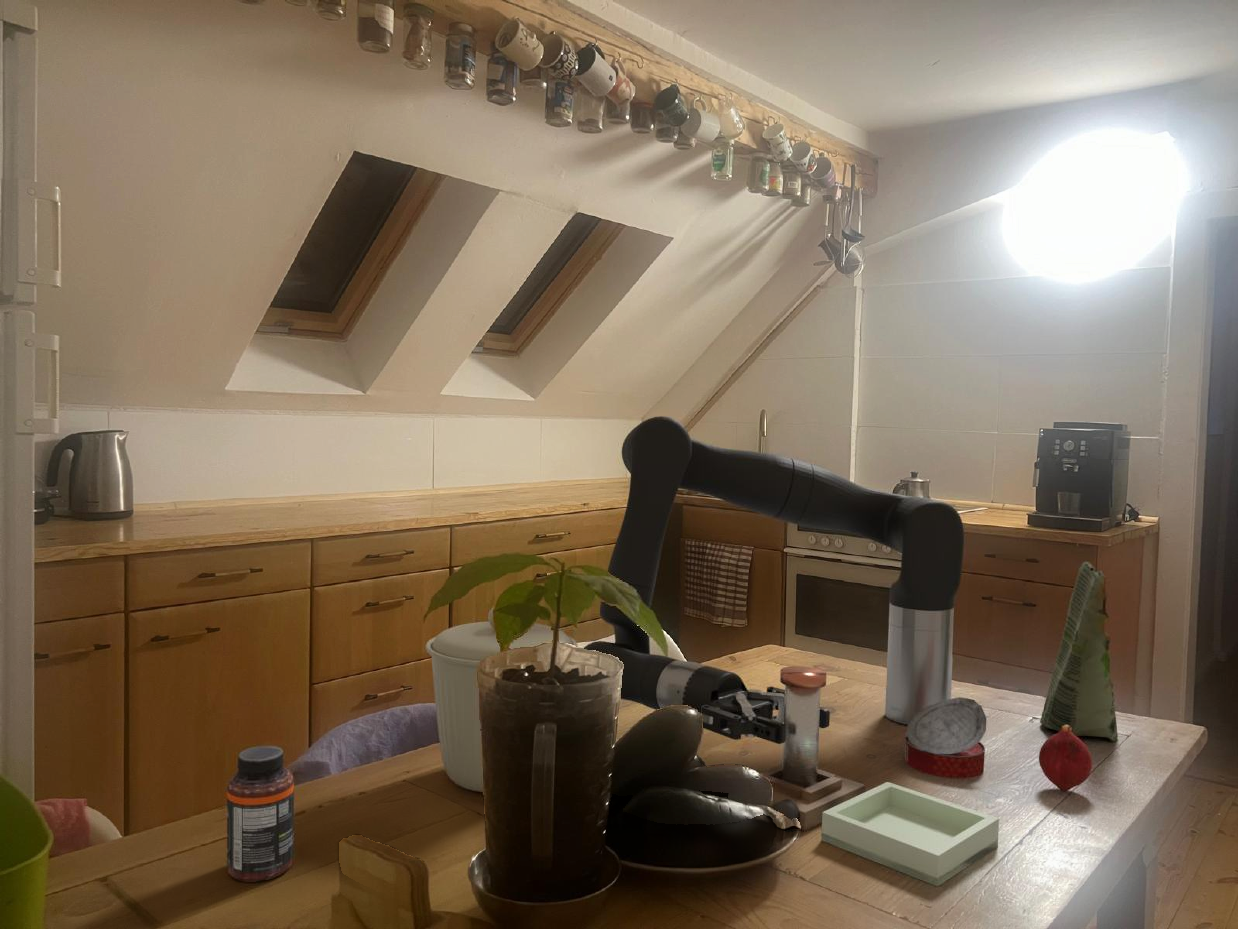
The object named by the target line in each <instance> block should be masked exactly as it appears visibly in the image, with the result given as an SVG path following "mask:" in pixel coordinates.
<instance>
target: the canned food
mask: <svg viewBox="0 0 1238 929" xmlns="http://www.w3.org/2000/svg"><path fill="white" fill-rule="evenodd" d="M986 732H987V716H986V714H985V712H984V709H983V707H982V705H981V704H980V703H978V702H977V701H976V700H975V699H971V698H967V697H954V698H951V699H948V700H942V701H940V702H938V703H936V704H933V705H930V706H928V707H926V708H925V709H924V710H922V711H921V712H919V713H918V714H916V715H915V716H914V717H913V719H912V720H911V721H910V722H909V724H908V725H907V729H906V733H905V737H904V739H905V740H904V758H903V759H904V762H905V764H906V765H907V764H908V765H907V766H908V767H910V768H911V769H914V771H915V770H916V771H918V772H920V773H923V774H926V773H927V774H926V775H929V776H935V777H940V778H946V779H969V778H971V779H972V778H975V777H979V776H982V774H983V773H984V770H985V752H986V747H985V745H984V744H983V743H982V742H981V740H982V739H983V737H984V735H985V734H986Z"/></svg>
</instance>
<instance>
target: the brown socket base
mask: <svg viewBox="0 0 1238 929" xmlns="http://www.w3.org/2000/svg"><path fill="white" fill-rule="evenodd" d="M760 773H761V774H763V776H765V777H767V778H768V779H769V780H770V783H771V784H772V787H773V805H772V808H773V809H774V810H776V811H779V812H780V813H782V814H784V816H786V817H787V818H789V819H791V820H792V819H793V818H797V819H798V821H799V822H800V825H801V829H800V830H801V831H803V832H805V831H808V830H809V829H812V828H813V827H816V826H818V825H820V824H822V812H824V811H826V810H828V809H830V808H833V807H835V806H837V805H839V804H841V803H843V802H845V801H847V800H850V799H852V798H854V797H856V796H858V795H860V794H862V793H865V792H866V784H864V783H861V782H857V781H854V780H852V779H848V778H845V777H843V776H840V775H838V774H835V773H831V772H828V771H825V770H822V769H820V768H818V772H817V784H814V785H812V786H810V787H807V788H802V787H800V786H797V785H794V784H791V783H789V782H786V781H783V780H782V764H779V765H776V766H774V767H771V768H768V769H766V770H763V771H761V772H760Z"/></svg>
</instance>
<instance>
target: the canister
mask: <svg viewBox="0 0 1238 929" xmlns="http://www.w3.org/2000/svg"><path fill="white" fill-rule="evenodd" d="M494 607H495V606H493V607H491V609H490V610H489V611H488V617H487V619H488V621H478V622H469V623H464V624H463V623H462V624H459V625H455V626H451V627H449V628H447V629H445V630H442V631H441V632H440V633H439V634H437V635H436V636H434V637H433V638H430V639H429V640H428V641H427V642H426V644H425V649H426V652H427V654H429V656H431V667H432V678H433V679H432V680H433V689H434V700H435V711H436V720H437V731H438V738H439V739H438V740H439V746H440V753H441V754H440V755H441V760H442V764H443V768H444V771H445V773H446V775H447V776H448V777H449V778H450V780H451V781H452V782H453V783H455V785H458V786H460V787H461V788H463V789H466V790H471V791H473V792H480V793H484V792H483V767H482V746H481V736H480V729H481V726H480V720H479V688H478V681H477V670H478V666H479V662H480V661H482V660H483V659H484V658H485V657H487V656H490V655H492V654H497V653H499V652H500V646H499V643H498V642H497V639H496V633H495V630H494V623H493V609H494ZM534 623H535V624H534V626H532V627H531V629H530V630H528V632H527V633H525V634H524V635H523V636H521V637H519V638H517V640H514V641H513V643H511V644H510V646H509V648H510V649H514V648H520V647H534V646H537V645H540V644H542V643H551V642H552V640H553V631H552V630H551V627H552V626H550V625H546V624H541V623H536V622H534ZM559 642H560V643H568V644H572V645H575V646H576V647H578V642H577V641H576V640H575V639H574V638H572V637H571V636H568V635H567V634H566V633H565V632H564V631H563V630H560V631H559Z"/></svg>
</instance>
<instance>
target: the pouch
mask: <svg viewBox="0 0 1238 929" xmlns="http://www.w3.org/2000/svg"><path fill="white" fill-rule="evenodd" d="M1106 582H1107V581H1106V575H1104V572H1103V570H1099V571H1097V570H1096V566H1095V565H1094V566H1093V564H1092V563H1091V562H1089V561H1083V562H1082V563H1081V564H1080V567H1079V568H1078V574H1077V577H1076V580H1075V584H1074V587H1073V592H1072V594H1071V597H1070V601H1069V603H1068V604H1069V605H1068V611H1067V615H1066V620H1065V625H1064V630H1063V632H1062V637H1061V641H1060V645H1059V649H1058V652H1057V656H1056V660H1055V664H1054V667H1053V670H1052V675H1051V679H1050V682H1049V686H1048V690H1047V694H1046V697H1045V701H1044V706H1043V710H1042V712H1041V717H1040V719H1039V722H1040V723H1039V724H1041V725H1042V726H1043V727H1045V728H1047V729H1051V730H1054V731H1056V732H1058V733H1059V732H1060V731H1061V730H1062V726H1064V725H1068V726H1070V727H1071V728H1072V729H1071V732H1072V733H1073V734H1074V735H1075V736H1077V737H1078V736H1086V737H1087V736H1088V737H1098V738H1106V739H1108V741H1111V742H1116V741H1117V739H1118V737H1119V735H1118V726H1117V724H1118V723H1117V718H1116V717H1117V716H1116V707H1115V704H1114V702H1115V694H1114V690H1113V689H1114V688H1113V686H1114V685H1113V681H1112V678H1111V659H1110V656H1109V653H1108V650H1110V646H1111V645H1110V642H1111V639H1110V638H1111V636H1110V635H1109V634H1108V633H1107V632H1106V631H1105V623H1106V621H1107V620H1108V619H1110V616H1109V614H1108V613H1107V608H1106V602H1107V592H1106V586H1107V583H1106Z"/></svg>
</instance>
